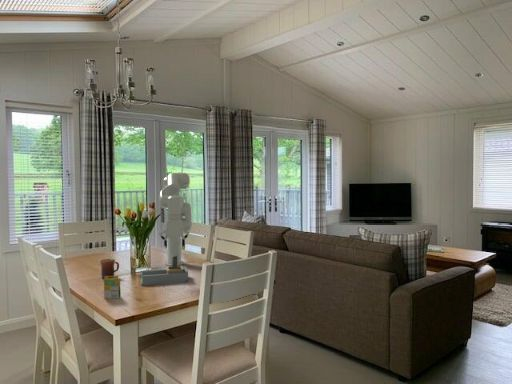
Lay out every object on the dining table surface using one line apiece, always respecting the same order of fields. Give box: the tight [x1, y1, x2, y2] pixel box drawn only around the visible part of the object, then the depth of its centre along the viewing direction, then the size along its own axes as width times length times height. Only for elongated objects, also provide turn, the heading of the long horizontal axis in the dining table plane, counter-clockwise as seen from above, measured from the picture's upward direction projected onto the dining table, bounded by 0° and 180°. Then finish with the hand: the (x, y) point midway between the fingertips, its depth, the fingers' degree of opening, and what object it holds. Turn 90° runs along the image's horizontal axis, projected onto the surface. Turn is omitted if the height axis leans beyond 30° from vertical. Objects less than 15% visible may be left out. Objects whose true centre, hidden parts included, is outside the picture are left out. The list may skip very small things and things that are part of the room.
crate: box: [166, 256, 184, 274], centre depth 233 cm, size 9×9×12 cm
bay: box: [140, 266, 189, 286], centre depth 232 cm, size 13×26×6 cm, turn 106°
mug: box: [99, 258, 120, 279], centre depth 239 cm, size 12×9×10 cm
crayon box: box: [103, 275, 121, 300], centre depth 200 cm, size 7×3×12 cm, turn 92°
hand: (174, 246), depth 232 cm, fingers open, 9 cm apart
